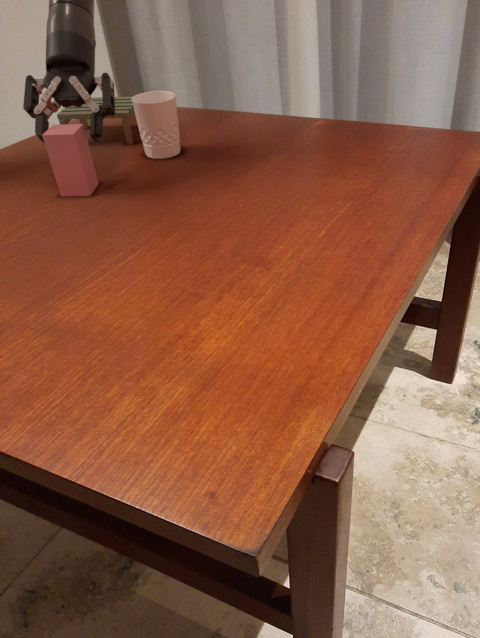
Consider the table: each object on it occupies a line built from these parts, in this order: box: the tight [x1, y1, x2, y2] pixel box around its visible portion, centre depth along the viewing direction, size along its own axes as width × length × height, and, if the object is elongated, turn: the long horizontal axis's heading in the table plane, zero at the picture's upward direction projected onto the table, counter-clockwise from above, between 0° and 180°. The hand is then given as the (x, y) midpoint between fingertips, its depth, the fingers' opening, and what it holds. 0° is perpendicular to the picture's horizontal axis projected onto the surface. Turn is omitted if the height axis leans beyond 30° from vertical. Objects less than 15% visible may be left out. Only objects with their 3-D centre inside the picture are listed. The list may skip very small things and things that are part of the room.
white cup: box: [132, 90, 182, 160], centre depth 103 cm, size 8×8×10 cm
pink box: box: [42, 123, 99, 197], centre depth 91 cm, size 5×5×10 cm
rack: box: [56, 95, 135, 145], centre depth 113 cm, size 14×12×6 cm
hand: (69, 139), depth 89 cm, fingers open, 8 cm apart
